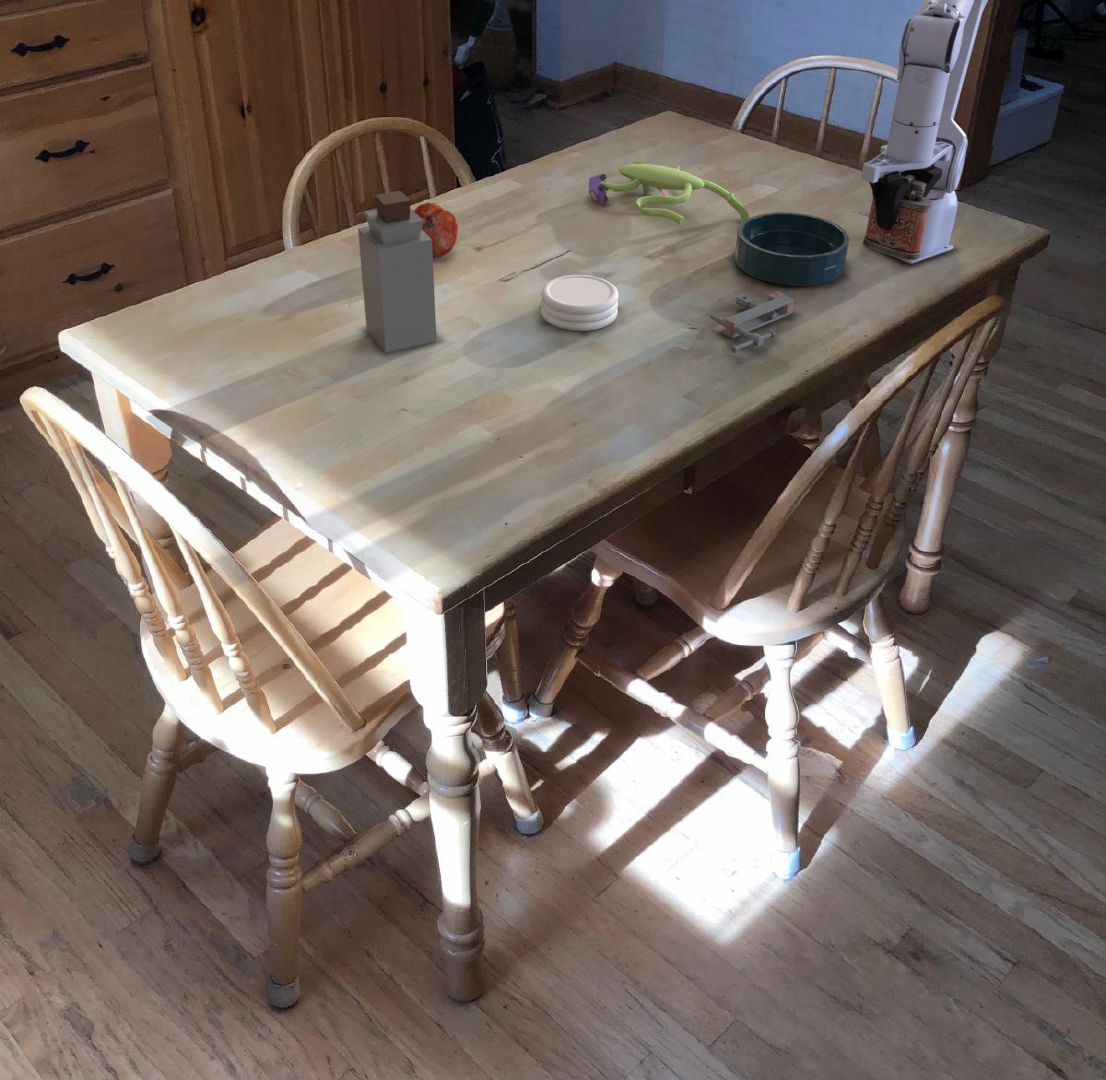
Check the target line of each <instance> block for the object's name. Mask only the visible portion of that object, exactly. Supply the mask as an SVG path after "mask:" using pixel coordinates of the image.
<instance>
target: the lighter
mask: <svg viewBox="0 0 1106 1080" xmlns="http://www.w3.org/2000/svg"><path fill="white" fill-rule="evenodd" d="M900 175H901V174H899V176H900ZM901 180H904V181H906V182H909V183H910V184H911V185H910V186H909V188H908V189H907V191H906V193H905V195H904V196H903V199H902V201H901V203H900V206H899V209H898V213H897V217H896V220H895V223H894V226H893V228H892V230H889V231H888V230H885V229H883V228H881V227H879V226H877V220H876V208H875V200H874V196H873V192H872V191H871V196H872V200H871V205H870V210H869V215H868V221H867V226H866V232H865V235H864V236H863V239H862V245H863V246H864V247H866V248H869V249H871V250H874V251H876V252H878V253H882V254H884V255H888V256H891V257H894V258H896V257H898V258H902V259H906V260H917V259H919V258H920V253H921V250H920V247H921V242H922V238H923V233H924V229H925V224H926V219H927V215H928V210H929V209H930V208H931V203H932V201H931V200H929V199H927V198H925V197H922V195H923V193H924V192H925V187H926V183H923V182H920V181H917V180H915V177H914V176H913V175H908V176H906V177H903V176H901ZM898 258H897V259H898Z"/></svg>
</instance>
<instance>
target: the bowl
mask: <svg viewBox="0 0 1106 1080" xmlns="http://www.w3.org/2000/svg"><path fill="white" fill-rule="evenodd" d="M849 242H850V237H849V235H848V232H847V230H845V229H844V228H843V227H841V226H840V225H839V224H837V223H835V222H833V221H830V220H829V219H826V218H822V217H819V216H815V215H812V214H806V213H798V212H787V211H786V212H785V211H784V212H782V211H780V212H779V211H776V212H768V213H761V214H757V215H753V216H749V218H748V219H747V220H745V221H742V222H741V223H740V224H739V226H738V228H737V232H736V243H735V251H734V261H735V264H736V266H737V267H738V268H739V269H741V270H742V272H744V273H746V275H749V276H751V277H753V278H754V279H758V280H761V281H764V282H767V283H770V284H777V285H783V286H792V287H793V286H797V287H798V286H799V287H806V286H815V285H822V284H826V283H829V282H831V281H834V280H836V279H837V278H838V277H840V276H841V275H842V274H843V273H844V269H845V265H846V260H847V253H848V249H849Z"/></svg>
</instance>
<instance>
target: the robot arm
mask: <svg viewBox="0 0 1106 1080" xmlns="http://www.w3.org/2000/svg"><path fill="white" fill-rule="evenodd" d="M988 1H989V0H923V1H922V3H921V5H920V7H919V10H918V12H917V14H916V15H915V17H914V18H911V17H910V18H908V19H907V21H906V23H905V25H904V28H903V31H902V34H901V39H900V44H899V52H898V69H897V75H896V80H897V81H898V85H897V89H896V94H895V95H896V96H895V100H894V107H893V112H892V118H891V123H890V127H889V134H888V139H887V144H885V145H882V146H880V151H879V152H880V153H879V154H878V155H877V156H875V157H874V158H872V159H871V160H869V161H866V162H864V163H863V164H862V168H861V169H862V170H861V174H860V175H861V176H860V179H861V180H864V181H866V182H868V183H869V185H870V188H871V193H872V192H873V196H874V200H875V208H876V220H877V226H879V227H881V228H883V229H885V230H888V231H889V230H892V228H893V226H894V223H895V220H896V217H897V213H898V209H899V206H900V203H901V201H902V199H903V196H904V195H905V193H906V191H907V189H908V188H909V186H910V185H911V184H910V183H909V182H906V181H904V180H901V176H903V177H906V176H908V175H913V176H914V177H915V180H917V181H920V182H923V183H926V187H925V192H924V193H923V195H922V197H925V198H927V199H929V200H931V201H932V203H931V208H930V209H929V210H928V215H927V219H926V224H925V229H924V233H923V238H922V242H921V247H920V250H921V253H920V258H919V259H917V260H906V259H902V258H898V257H895V258H896V259H898V260H900V261H902V262H905V263H907V264H915V263H918V262H922V261H925V260H926V259H929V258H932V257H935V256H938V255H941V254H945V253H947V252H949V251H952V250H954V247H955V246H954V245H953V244H950V241H951V238H952V237H951V236H952V233H953V228H954V224H955V221H956V220H955V219H956V216H957V210H958V197H957V193H956V192H955V191H956V190H957V188H958V186H959V183H960V181H961V176H962V173H963V170H964V165H965V160H966V152H967V149H968V144H969V141H968V136H967V135H966V133H965V132H964V131H963V129H962V128H961V127H960V126H959V124H958V123H957V122H956V121H955V120H954V119H955V114H956V111H957V108H958V104H959V101H960V96H961V93H962V89H963V86H964V82H965V78H966V74H967V72H968V71H967V70H968V66H969V63H970V59H971V55H972V52H973V48H974V44H975V40H976V37H977V32H978V30H979V26H980V22H981V19H982V15H983V12H984V9H985V7H986V6H987V4H988ZM899 174H901V175H900V176H899ZM873 196H872V197H873Z"/></svg>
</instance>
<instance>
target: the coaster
mask: <svg viewBox="0 0 1106 1080" xmlns="http://www.w3.org/2000/svg"><path fill="white" fill-rule="evenodd" d="M540 296H541V297H540V298H541V299H540V305H541V306H540V314H541V316H542V318H543V319H544V320H545V321H546V322H547V323H549V324H550V325H553V327H556V328H558V329H562V330H567V331H573V332H574V331H575V332H589V331H595V330H599V329H604V328H605V327H607V326H609V325H611V324H612V323H613V322H614V321H615V320H616V319H617V316H618V314H619V311H618V307H619V298H620V297H619V296H620V295H619V291H618V289H617V287H616V286H615V285H614V284H613V283H611V282H610V281H608V280H606V279H604V278H601V277H597V276H594V275H587V274H570V275H563V276H558V277H556V278H553V279H550V280H549V281H548V282H547V283H546V284H544V286H543V287H542V288H541V292H540Z"/></svg>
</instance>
